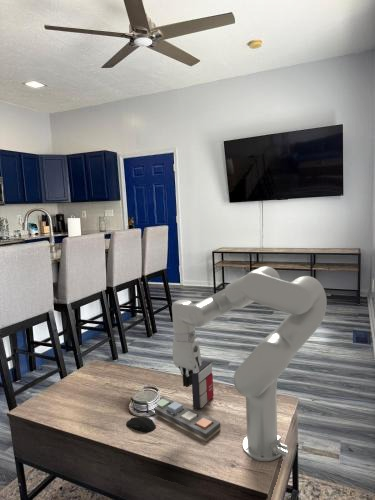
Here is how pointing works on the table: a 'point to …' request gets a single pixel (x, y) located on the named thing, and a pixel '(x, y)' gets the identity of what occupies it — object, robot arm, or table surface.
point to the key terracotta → (204, 423)
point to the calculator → (202, 385)
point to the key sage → (163, 403)
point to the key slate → (175, 408)
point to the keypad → (187, 425)
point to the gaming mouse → (141, 424)
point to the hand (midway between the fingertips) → (187, 385)
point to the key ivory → (189, 416)
